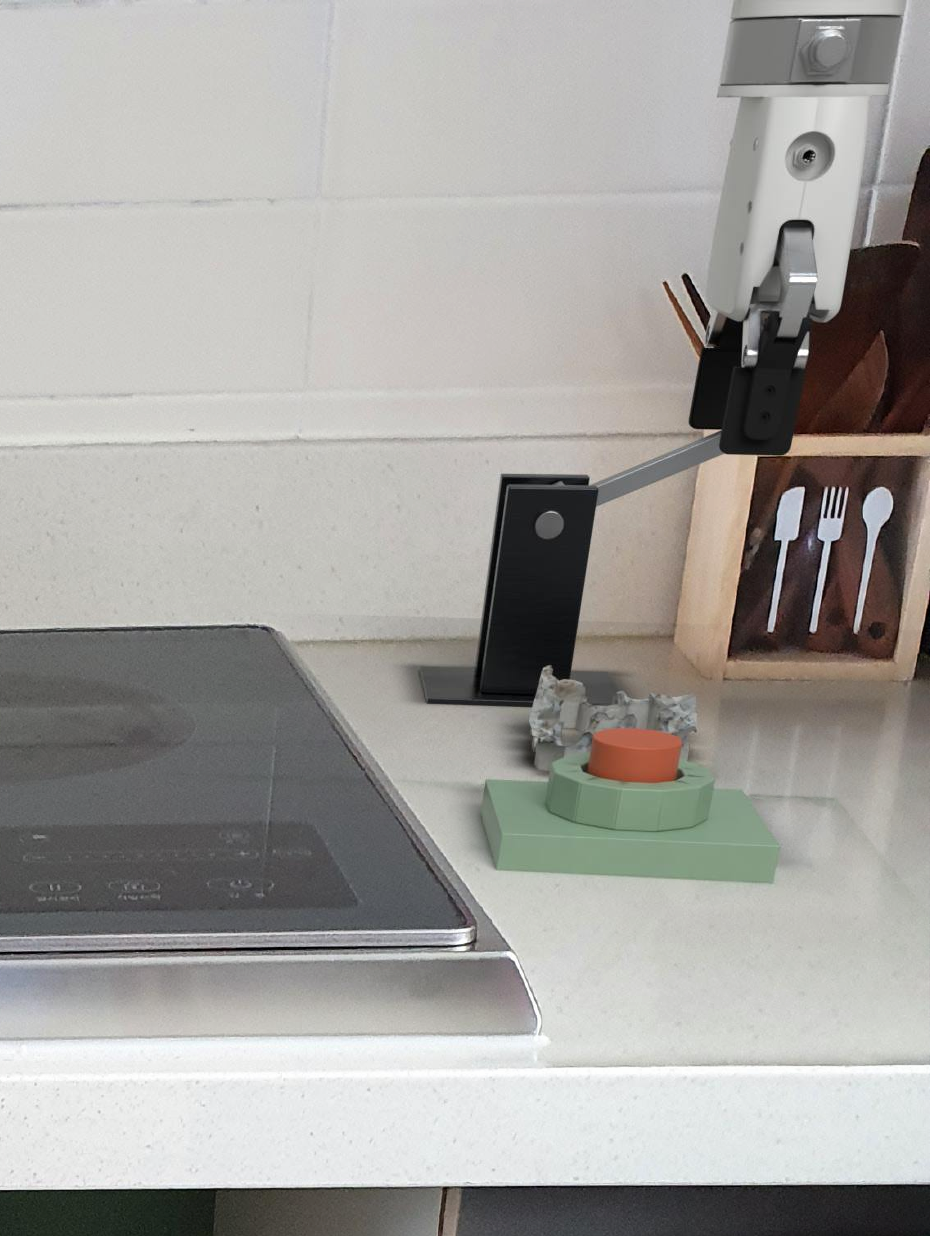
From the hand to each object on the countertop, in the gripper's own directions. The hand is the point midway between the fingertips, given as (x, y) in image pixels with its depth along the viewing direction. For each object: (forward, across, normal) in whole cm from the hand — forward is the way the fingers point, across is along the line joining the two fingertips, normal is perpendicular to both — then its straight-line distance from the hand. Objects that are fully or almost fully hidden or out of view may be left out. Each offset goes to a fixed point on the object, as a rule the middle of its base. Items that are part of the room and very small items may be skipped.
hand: (736, 441), depth 116 cm
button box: (+14, -27, +7) cm, 31 cm away
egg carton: (+14, -14, +6) cm, 20 cm away
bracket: (+14, 0, +9) cm, 16 cm away
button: (+11, -27, +7) cm, 30 cm away
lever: (+3, 0, +4) cm, 5 cm away
